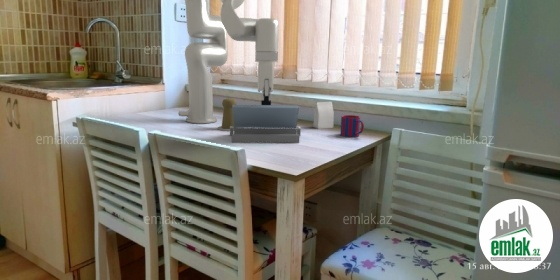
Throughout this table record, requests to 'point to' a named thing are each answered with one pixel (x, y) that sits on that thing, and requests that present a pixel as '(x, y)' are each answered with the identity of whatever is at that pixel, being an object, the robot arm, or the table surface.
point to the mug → (351, 126)
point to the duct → (265, 135)
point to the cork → (228, 113)
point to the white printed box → (323, 115)
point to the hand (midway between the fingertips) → (266, 112)
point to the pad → (222, 129)
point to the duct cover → (265, 116)
